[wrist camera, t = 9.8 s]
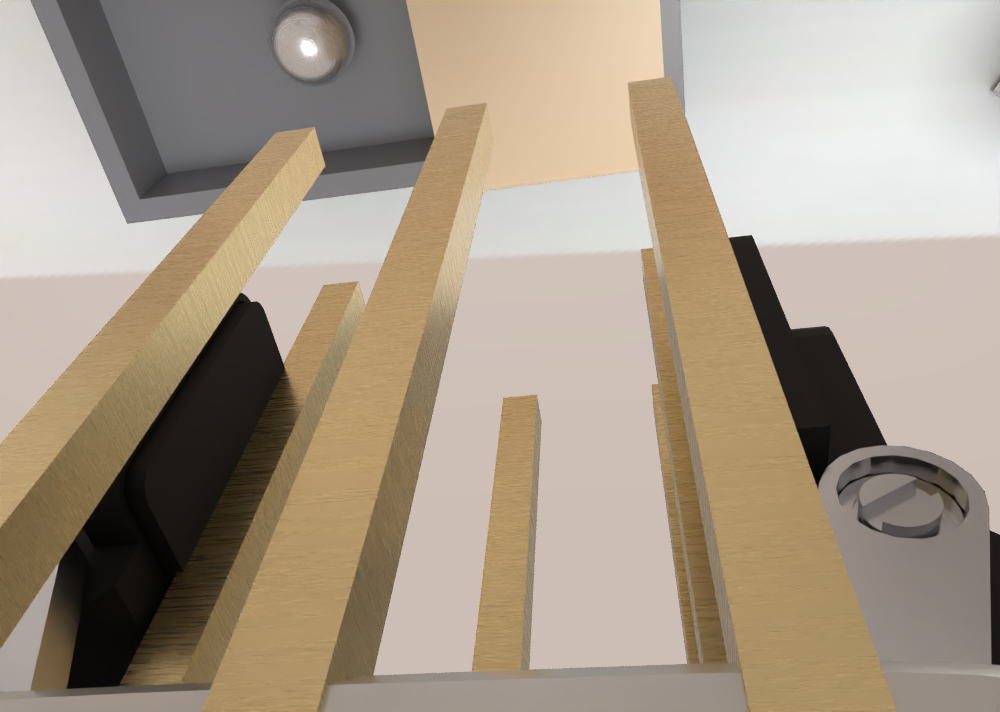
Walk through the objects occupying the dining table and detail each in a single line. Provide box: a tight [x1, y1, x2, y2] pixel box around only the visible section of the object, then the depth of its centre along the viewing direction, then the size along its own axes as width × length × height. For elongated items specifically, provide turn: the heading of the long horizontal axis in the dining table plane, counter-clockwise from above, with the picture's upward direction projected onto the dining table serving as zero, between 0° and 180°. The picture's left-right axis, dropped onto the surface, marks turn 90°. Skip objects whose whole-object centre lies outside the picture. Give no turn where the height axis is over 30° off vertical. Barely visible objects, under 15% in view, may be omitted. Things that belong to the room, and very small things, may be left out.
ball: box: [267, 0, 355, 87], centre depth 33 cm, size 3×3×3 cm
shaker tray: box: [31, 0, 685, 224], centre depth 32 cm, size 12×24×8 cm, turn 99°
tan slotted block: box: [0, 77, 897, 712], centre depth 9 cm, size 6×6×11 cm
